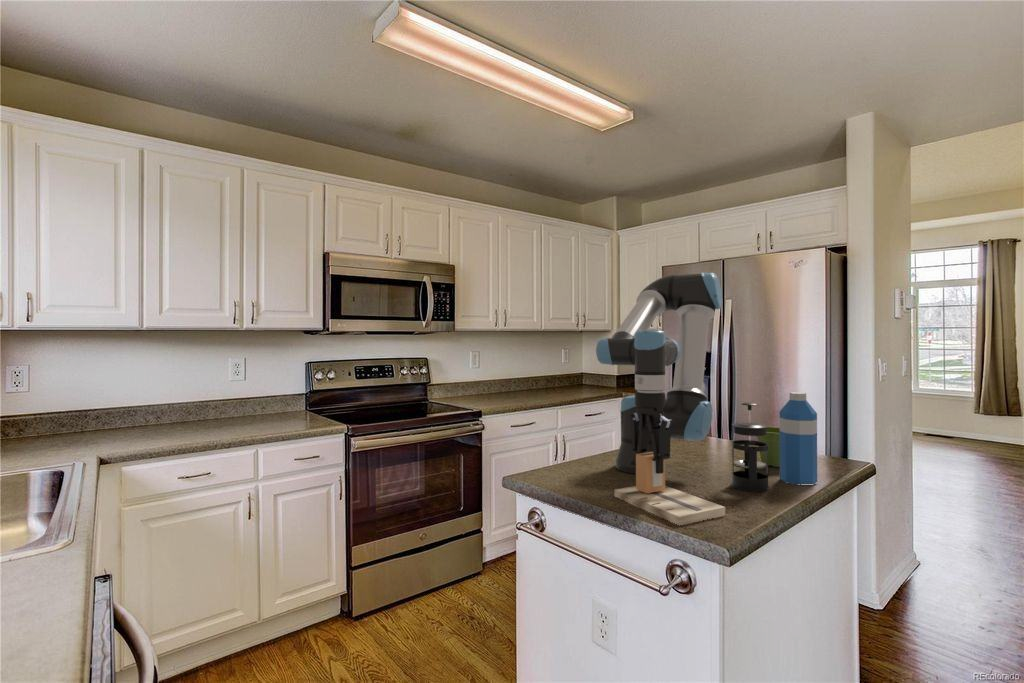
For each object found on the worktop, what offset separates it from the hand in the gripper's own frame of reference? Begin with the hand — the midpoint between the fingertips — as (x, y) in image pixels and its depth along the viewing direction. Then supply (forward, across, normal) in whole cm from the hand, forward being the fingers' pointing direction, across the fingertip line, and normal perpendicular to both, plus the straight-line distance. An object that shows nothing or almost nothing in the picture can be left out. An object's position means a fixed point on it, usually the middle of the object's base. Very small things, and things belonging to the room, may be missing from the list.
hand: (650, 483), depth 132 cm
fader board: (+4, +6, 0) cm, 7 cm away
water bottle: (+4, +7, +48) cm, 49 cm away
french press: (+4, +4, +31) cm, 32 cm away
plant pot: (+4, -9, +59) cm, 60 cm away
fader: (+2, 0, 0) cm, 2 cm away
